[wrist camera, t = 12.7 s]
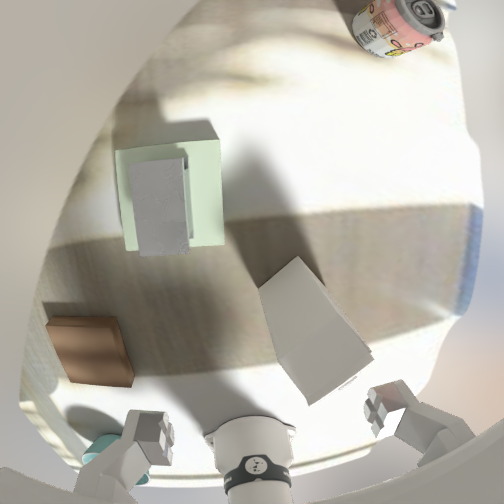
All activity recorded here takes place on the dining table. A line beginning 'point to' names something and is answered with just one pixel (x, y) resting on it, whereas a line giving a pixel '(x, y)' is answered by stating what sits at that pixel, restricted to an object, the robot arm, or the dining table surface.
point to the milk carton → (311, 333)
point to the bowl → (101, 445)
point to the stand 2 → (201, 180)
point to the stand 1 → (91, 350)
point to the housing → (162, 206)
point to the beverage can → (398, 26)
